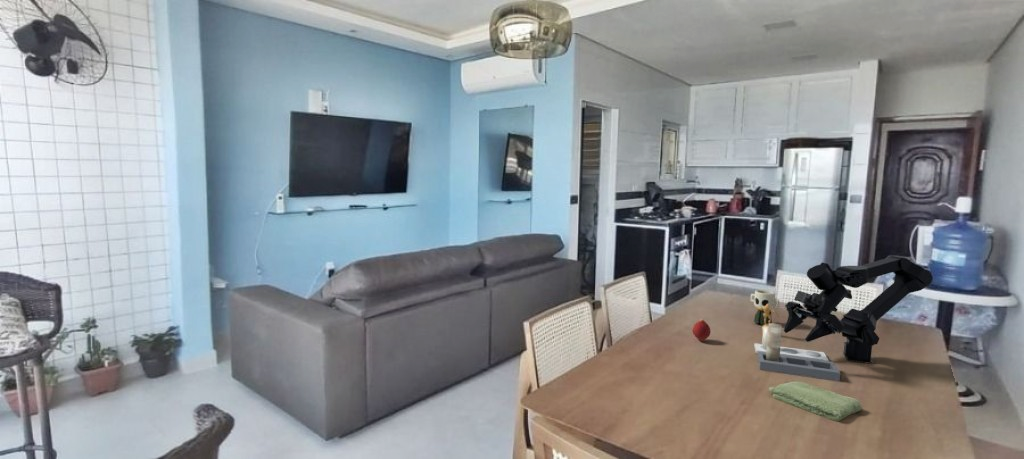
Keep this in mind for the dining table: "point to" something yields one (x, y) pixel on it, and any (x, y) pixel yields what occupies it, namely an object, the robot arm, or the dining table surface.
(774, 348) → the birch peg
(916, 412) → the dining table surface
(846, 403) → the washcloth
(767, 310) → the figurine
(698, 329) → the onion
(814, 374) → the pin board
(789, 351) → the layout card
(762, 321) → the character mug
